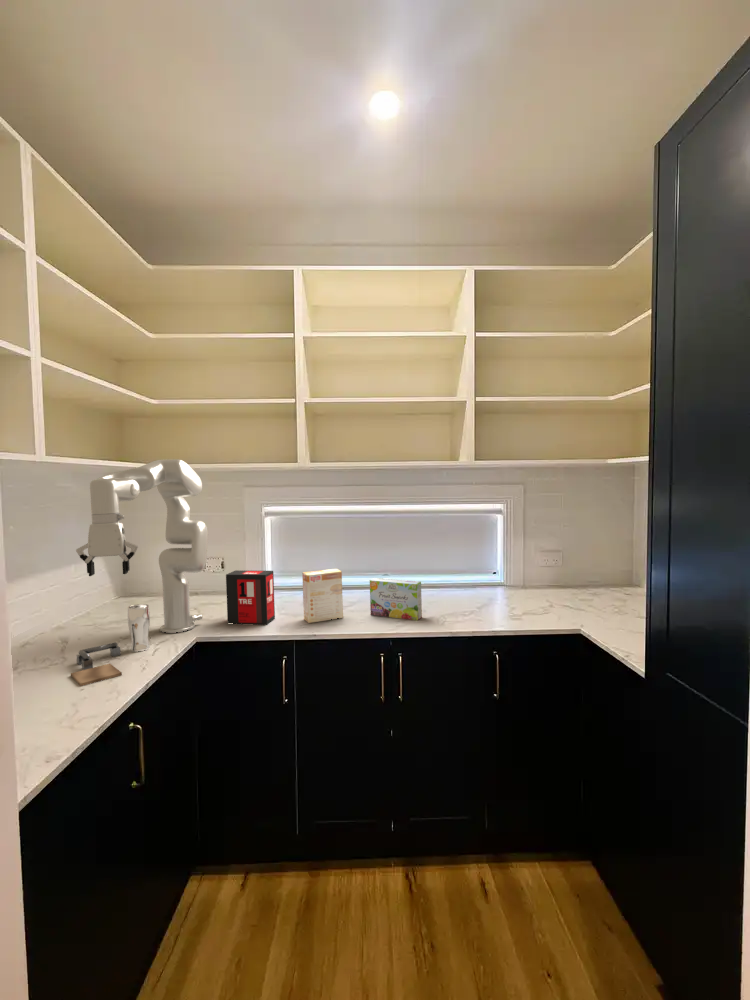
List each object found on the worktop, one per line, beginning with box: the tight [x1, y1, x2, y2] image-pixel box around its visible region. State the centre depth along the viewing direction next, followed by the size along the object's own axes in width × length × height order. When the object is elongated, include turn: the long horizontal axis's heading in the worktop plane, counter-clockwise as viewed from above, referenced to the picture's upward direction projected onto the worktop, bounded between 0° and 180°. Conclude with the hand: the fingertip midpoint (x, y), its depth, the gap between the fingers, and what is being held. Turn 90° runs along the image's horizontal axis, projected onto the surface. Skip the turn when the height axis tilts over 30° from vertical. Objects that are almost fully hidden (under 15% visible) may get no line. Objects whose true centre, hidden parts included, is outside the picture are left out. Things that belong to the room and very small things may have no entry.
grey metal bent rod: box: [76, 642, 121, 670], centre depth 166 cm, size 12×8×4 cm
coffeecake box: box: [301, 568, 344, 624], centre depth 209 cm, size 15×7×20 cm, turn 115°
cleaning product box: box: [225, 569, 276, 626], centre depth 208 cm, size 16×9×20 cm, turn 81°
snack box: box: [369, 577, 423, 621], centre depth 210 cm, size 21×6×15 cm, turn 65°
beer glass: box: [127, 603, 151, 653], centre depth 177 cm, size 7×7×15 cm
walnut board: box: [70, 663, 123, 687], centre depth 154 cm, size 11×11×1 cm
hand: (108, 574), depth 159 cm, fingers open, 9 cm apart
